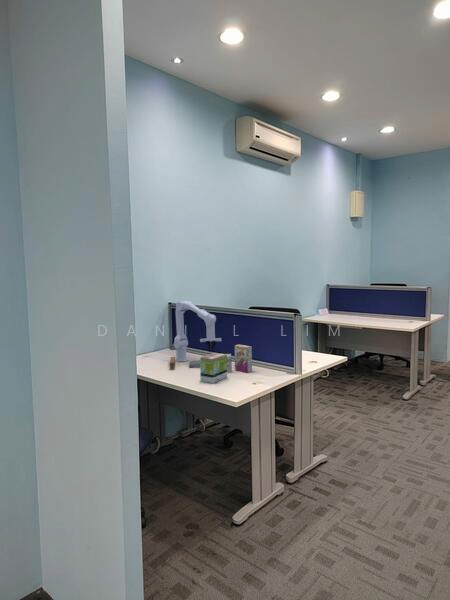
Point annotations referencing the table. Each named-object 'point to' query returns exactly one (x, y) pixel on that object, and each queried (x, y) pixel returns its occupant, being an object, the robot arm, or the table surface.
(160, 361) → the table surface
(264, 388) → the table surface
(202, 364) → the tea box
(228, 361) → the light bulb box
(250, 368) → the candy bar box
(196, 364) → the steel slab
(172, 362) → the stop bar
